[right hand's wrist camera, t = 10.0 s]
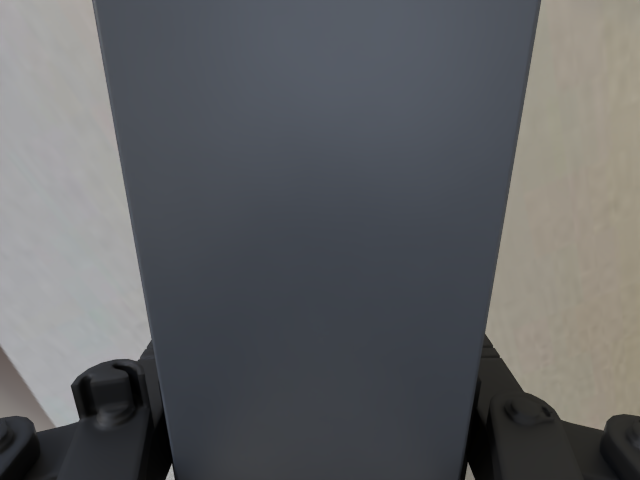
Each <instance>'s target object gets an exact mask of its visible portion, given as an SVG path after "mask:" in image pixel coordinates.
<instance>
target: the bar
mask: <svg viewBox="0 0 640 480" xmlns="http://www.w3.org/2000/svg"><path fill="white" fill-rule="evenodd" d="M92 2H93V8H94V14H95V19H96V25H97V31H98V36H99V42H100V48H101V53H102V59H103V65H104V71H105V76H106V82H107V88H108V93H109V99H110V105H111V110H112V116H113V122H114V127H115V133H116V139H117V145H118V150H119V156H120V162H121V167H122V173H123V179H124V184H125V190H126V196H127V201H128V207H129V213H130V218H131V224H132V230H133V236H134V241H135V247H136V253H137V258H138V264H139V270H140V275H141V281H142V287H143V292H144V298H145V304H146V310H147V315H148V321H149V327H150V332H151V338H152V344H153V349H154V355H155V361H156V366H157V372H158V378H159V383H160V389H161V395H162V401H163V406H164V412H165V418H166V423H167V429H168V435H169V440H170V446H171V452H172V457H173V463H174V469H175V475H176V480H460V477H461V471H462V465H463V460H464V454H465V448H466V442H467V436H468V430H469V424H470V418H471V412H472V406H473V400H474V394H475V389H476V383H477V377H478V371H479V365H480V359H481V353H482V347H483V341H484V335H485V329H486V323H487V317H488V312H489V306H490V300H491V294H492V288H493V282H494V276H495V270H496V264H497V258H498V252H499V246H500V241H501V235H502V229H503V223H504V217H505V211H506V205H507V199H508V193H509V187H510V181H511V175H512V170H513V164H514V158H515V152H516V146H517V140H518V134H519V128H520V122H521V116H522V110H523V104H524V98H525V93H526V87H527V81H528V75H529V69H530V63H531V57H532V51H533V45H534V39H535V33H536V27H537V22H538V16H539V10H540V4H541V0H92Z"/></svg>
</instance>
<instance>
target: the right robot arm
mask: <svg viewBox="0 0 640 480" xmlns="http://www.w3.org/2000/svg"><path fill="white" fill-rule="evenodd" d="M71 388H72V392H73V396H74V400H75V403H76V407H77V411H78V415H79V418H80V420H79V422H76V423H73V424H70V425H66V426H62V427H58V428H54V429H49V430H45V431H40V432H36V430H35V427H34V424H33V422H32V421H30V420H29V419H28V418H26V417H20V416H12V417H5V418H0V480H165V479H166V477H167V474H168V472H169V469H170V467H171V464H172V465H173V471H174V477H175V480H176V475H175V469H174V463H173V457H172V452H171V446H170V440H169V435H168V429H167V423H166V418H165V412H164V406H163V401H162V395H161V389H160V383H159V378H158V372H157V366H156V361H155V355H154V349H153V344H152V340H151V342H150V343H149V345H148V346H147V349H145V351H144V352H143V354H142V355H141V357H140V360H138V361H133V360H129V359H116V360H111V361H107V362H103V363H100V364H98V365H96V366H94V367H91V368H89V369H88V370H86V371H85V372H83V373H82V374H81V375H79V376H78V377H77V378H76V380H75V381H74V382H73V384H72V385H71ZM468 463H469V465H470V468H471V470H472V473H473V475H474V478H475V480H640V417H639V416H634V415H627V414H622V415H615V416H612V417H611V418H610V419H609V420H608V421H607V422H606V425H605V429H604V431H603V430H598V429H594V428H590V427H585V426H581V425H577V424H572V423H569V422H566V421H563V420H561V419H560V418H559V416H558V415H557V413H556V411H555V410H554V409H553V408H552V407H551V406H550V405H548V404H547V403H546V402H545V401H543V400H541V399H539V398H538V397H536V396H534V395H532V394H528V393H525V392H524V391H523V390H522V388H521V387H520V385H519V384H518V382H517V381H516V379H515V378H514V376H513V375H512V373H511V372H510V370H509V369H508V367H507V366H506V364H505V363H504V361H503V360H502V358H500V355H499V354H498V352H497V351H496V349H495V348H493V345H492V343H491V342H490V340H489V339H488V337H487V336H486V335H484V341H483V347H482V353H481V359H480V365H479V371H478V377H477V383H476V389H475V394H474V400H473V406H472V412H471V418H470V424H469V430H468V436H467V442H466V448H465V454H464V460H463V465H462V471H461V477H460V480H465V475H466V470H467V464H468Z"/></svg>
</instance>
